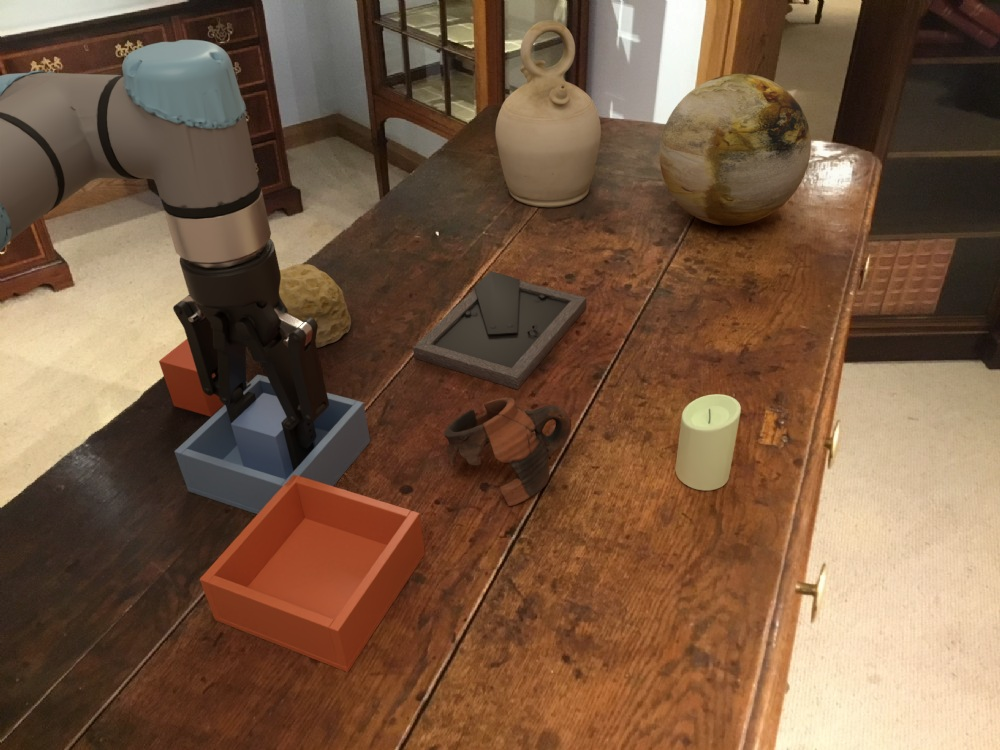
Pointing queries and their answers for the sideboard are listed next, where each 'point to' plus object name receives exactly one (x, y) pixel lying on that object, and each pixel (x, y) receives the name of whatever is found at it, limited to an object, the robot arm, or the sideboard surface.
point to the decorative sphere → (735, 149)
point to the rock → (315, 301)
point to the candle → (707, 441)
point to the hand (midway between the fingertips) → (281, 459)
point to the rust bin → (316, 570)
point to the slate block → (263, 437)
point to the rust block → (187, 382)
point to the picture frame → (501, 330)
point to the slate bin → (224, 478)
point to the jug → (548, 130)
